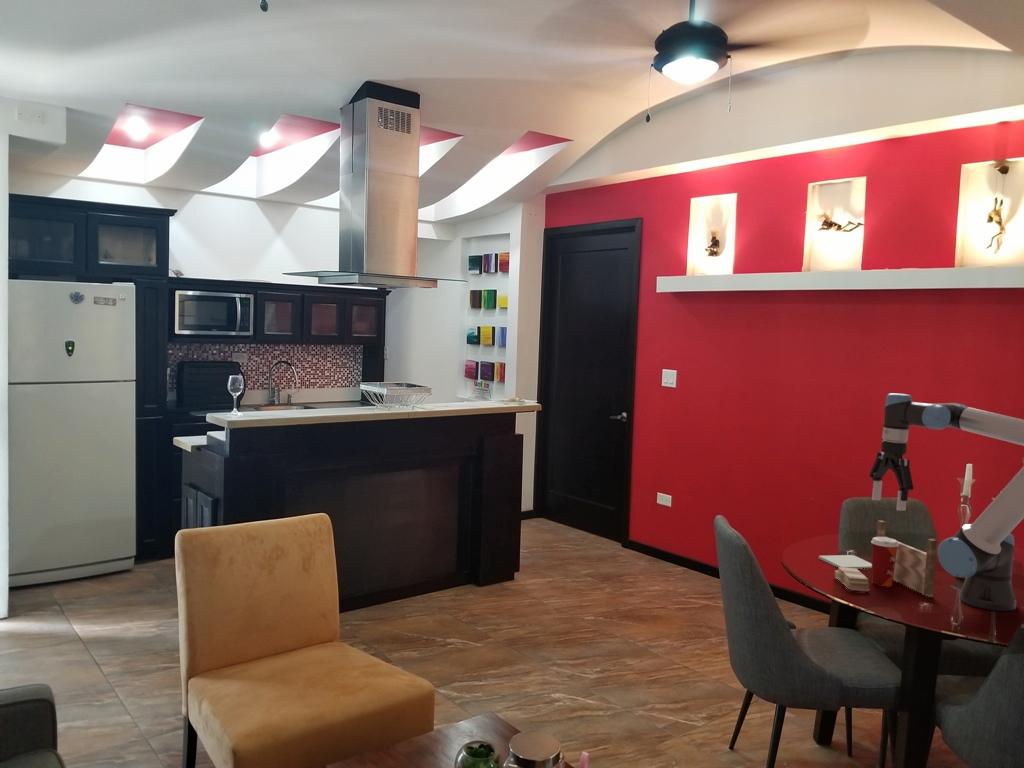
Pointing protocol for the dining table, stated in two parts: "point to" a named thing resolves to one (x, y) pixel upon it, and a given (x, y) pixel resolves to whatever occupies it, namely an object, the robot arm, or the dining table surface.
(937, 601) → the dining table surface
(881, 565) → the coffee cup
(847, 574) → the offcut stack
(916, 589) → the brown flat upright panel
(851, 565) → the sage board
